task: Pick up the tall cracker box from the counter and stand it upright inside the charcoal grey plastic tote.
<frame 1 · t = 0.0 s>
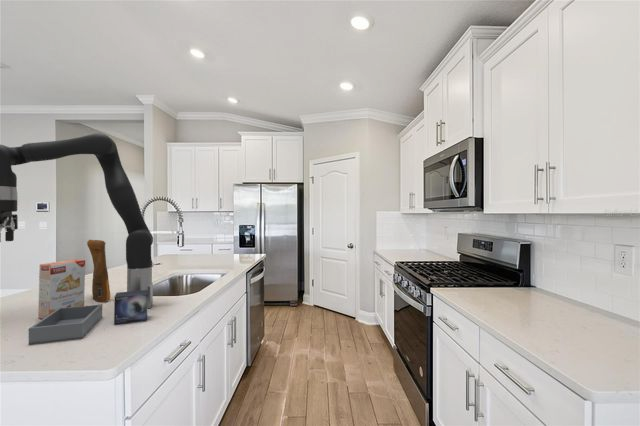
hand: (3, 242, 115), 29 cm above the countertop, tool pointing down, fingers open, 8 cm apart
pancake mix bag: (99, 299, 144), on the countertop
tote: (69, 329, 107), on the countertop
cracker box: (62, 314, 123), on the countertop
small box: (131, 321, 116), on the countertop
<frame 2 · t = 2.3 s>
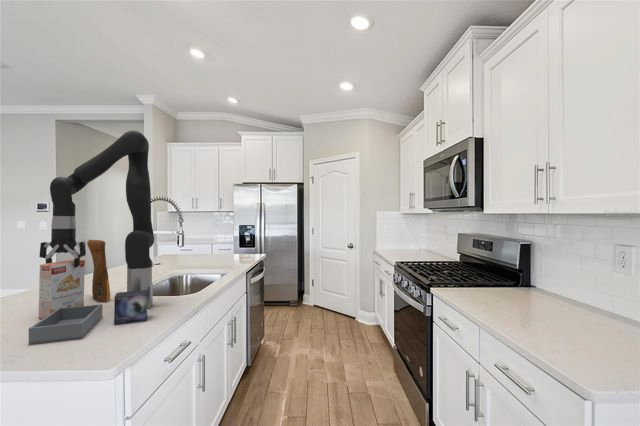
hand: (62, 267, 123), 18 cm above the countertop, tool pointing down, fingers closed on cracker box, 8 cm apart
cracker box: (62, 314, 123), on the countertop, touching gripper
everything else where it was.
when the fingers open (19 cm above the countertop, at t = 10.0 s): cracker box stays where it is, resting on tote.
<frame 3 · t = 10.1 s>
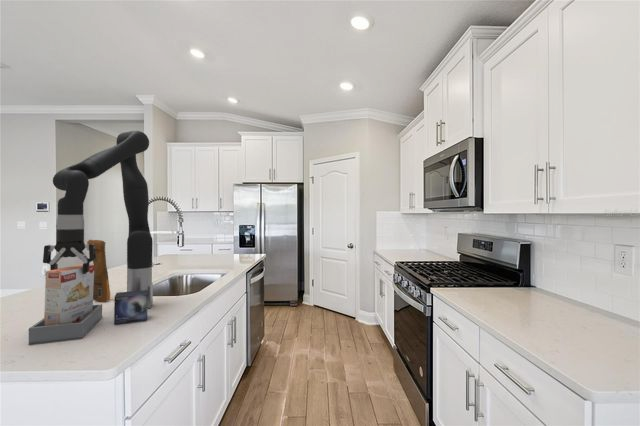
hand: (70, 274, 107), 19 cm above the countertop, tool pointing down, fingers open, 8 cm apart
cracker box: (70, 327, 107), resting on tote
everything else where it was.
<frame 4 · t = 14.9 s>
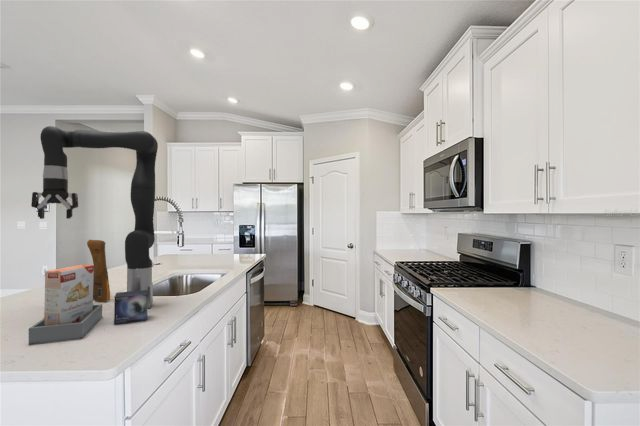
hand: (55, 218, 123), 38 cm above the countertop, tool pointing down, fingers open, 8 cm apart
nothing on the countertop moved.
at the end: cracker box inside the target area on the tote (0.2 cm from its centre), point 0.4 cm above the tote's base; cracker box tilted 0°; the gripper is holding nothing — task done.
